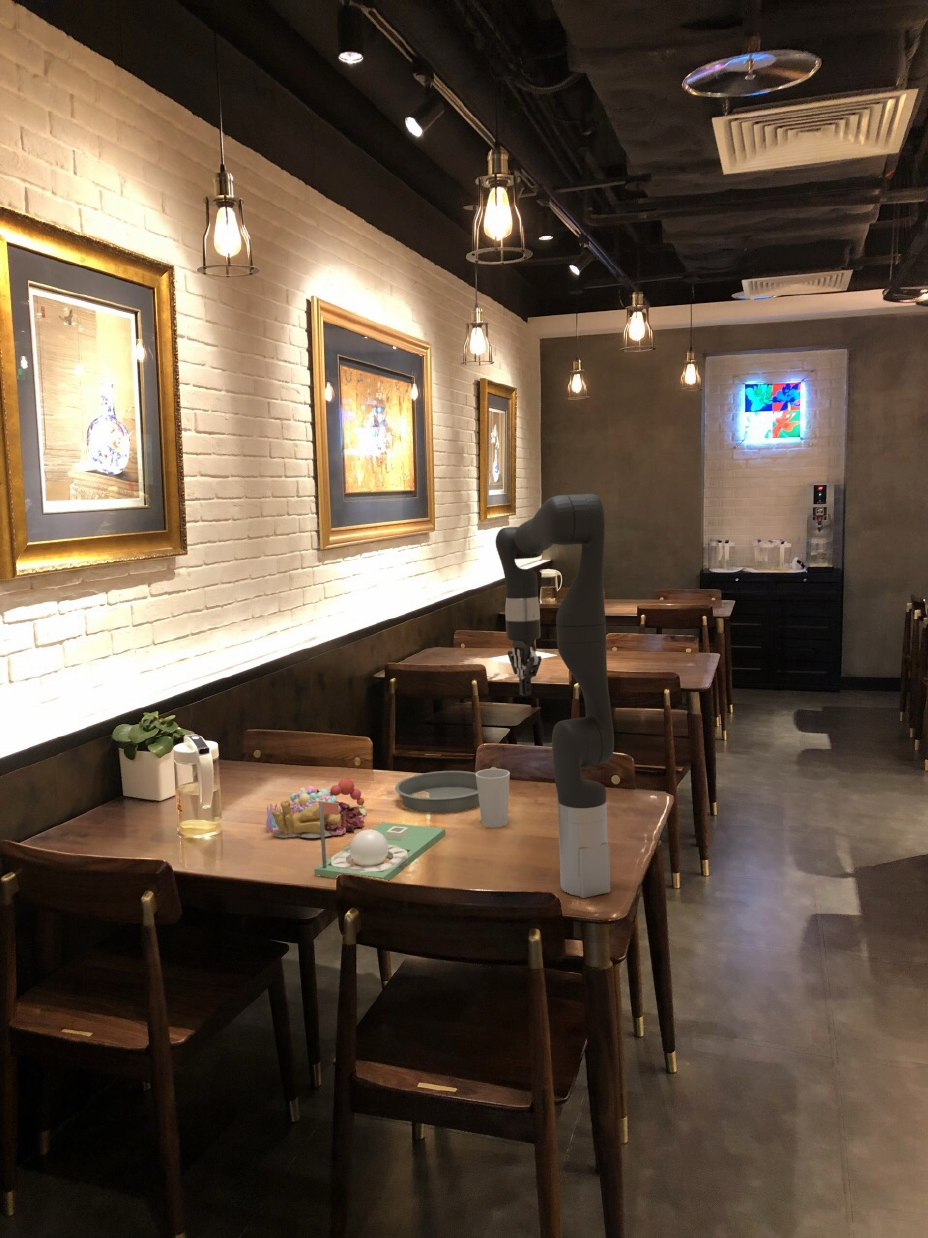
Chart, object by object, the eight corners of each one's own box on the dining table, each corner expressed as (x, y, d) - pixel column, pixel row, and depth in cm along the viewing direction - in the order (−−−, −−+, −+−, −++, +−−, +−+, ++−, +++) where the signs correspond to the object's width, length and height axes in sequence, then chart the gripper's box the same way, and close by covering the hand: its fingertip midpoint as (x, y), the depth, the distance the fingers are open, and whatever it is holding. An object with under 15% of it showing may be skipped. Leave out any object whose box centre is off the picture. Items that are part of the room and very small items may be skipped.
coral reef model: (365, 838, 217) (363, 799, 216) (261, 846, 215) (258, 806, 214) (367, 805, 242) (365, 769, 241) (273, 811, 240) (271, 776, 239)
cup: (508, 829, 218) (506, 778, 216) (474, 828, 220) (472, 778, 218) (513, 818, 226) (512, 768, 224) (481, 817, 227) (479, 768, 226)
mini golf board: (383, 828, 222) (379, 764, 220) (445, 835, 216) (442, 768, 214) (314, 876, 195) (310, 802, 193) (383, 885, 188) (379, 809, 187)
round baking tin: (449, 781, 260) (448, 765, 259) (512, 799, 241) (511, 781, 241) (376, 802, 244) (375, 785, 243) (438, 823, 225) (437, 804, 225)
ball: (392, 846, 193) (395, 867, 199) (378, 816, 199) (381, 838, 204) (356, 860, 191) (359, 882, 196) (342, 830, 196) (346, 851, 202)
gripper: (551, 619, 203) (554, 698, 205) (525, 613, 216) (527, 688, 218) (520, 621, 201) (523, 702, 203) (494, 616, 213) (497, 692, 215)
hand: (525, 695), depth 210 cm, fingers closed
